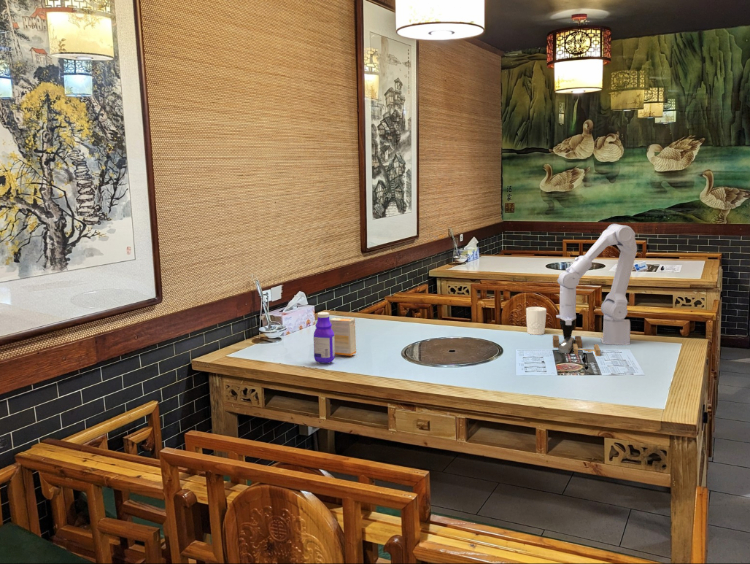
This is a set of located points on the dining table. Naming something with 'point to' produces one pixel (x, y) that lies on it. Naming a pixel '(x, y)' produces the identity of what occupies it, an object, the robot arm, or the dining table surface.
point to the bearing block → (556, 341)
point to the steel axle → (566, 345)
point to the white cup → (535, 320)
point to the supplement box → (344, 335)
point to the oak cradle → (596, 348)
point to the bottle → (324, 339)
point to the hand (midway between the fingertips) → (567, 339)
